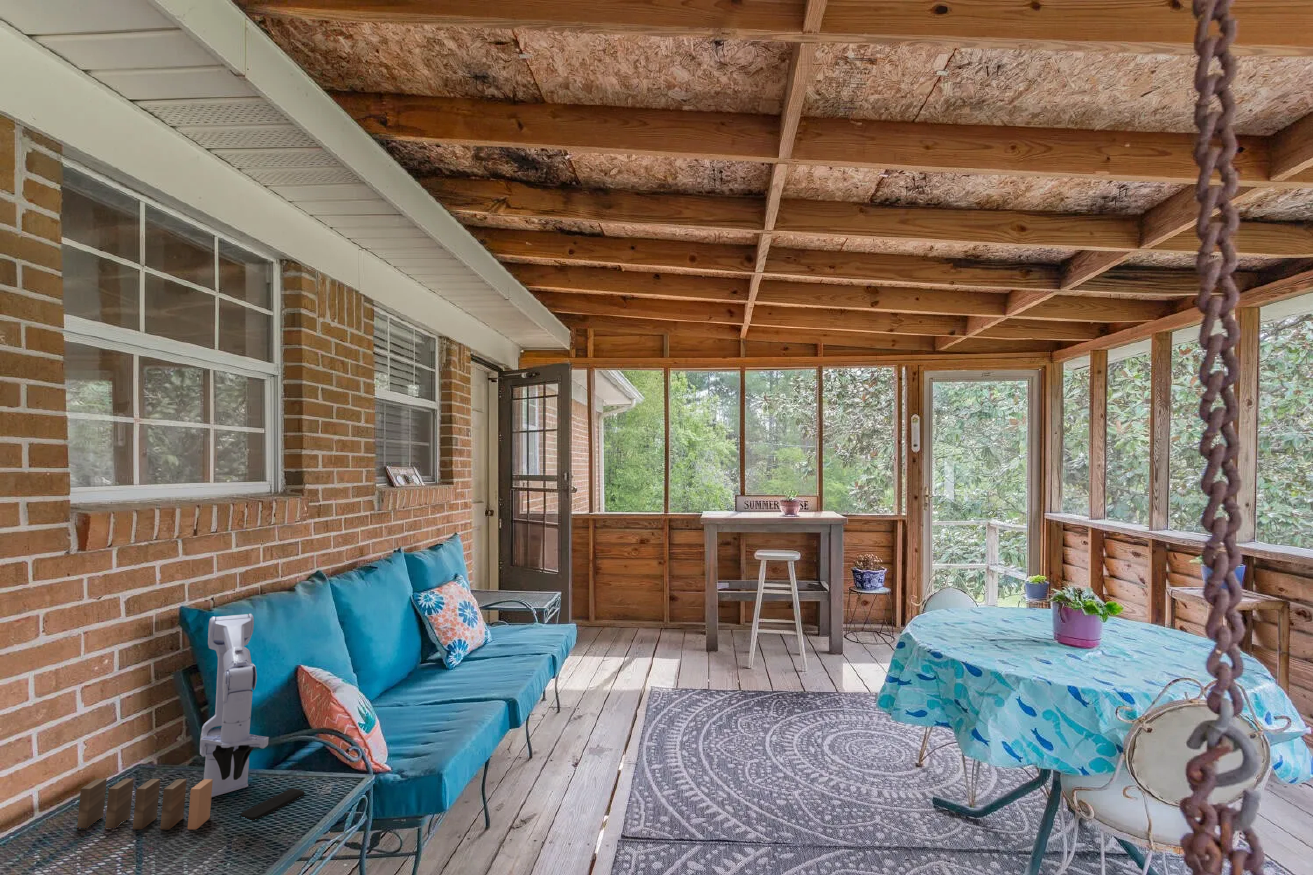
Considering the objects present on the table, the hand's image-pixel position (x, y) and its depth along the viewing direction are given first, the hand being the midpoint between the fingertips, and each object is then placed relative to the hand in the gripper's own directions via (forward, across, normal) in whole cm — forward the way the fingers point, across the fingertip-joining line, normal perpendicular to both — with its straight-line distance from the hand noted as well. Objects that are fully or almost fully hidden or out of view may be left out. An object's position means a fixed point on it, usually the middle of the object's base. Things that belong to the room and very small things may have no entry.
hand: (231, 777), depth 154 cm
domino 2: (+10, -24, 0) cm, 27 cm away
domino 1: (+10, -30, 0) cm, 32 cm away
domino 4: (+10, -12, 0) cm, 16 cm away
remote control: (+11, +6, +8) cm, 15 cm away
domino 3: (+10, -18, 0) cm, 21 cm away
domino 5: (+10, -6, 0) cm, 12 cm away
